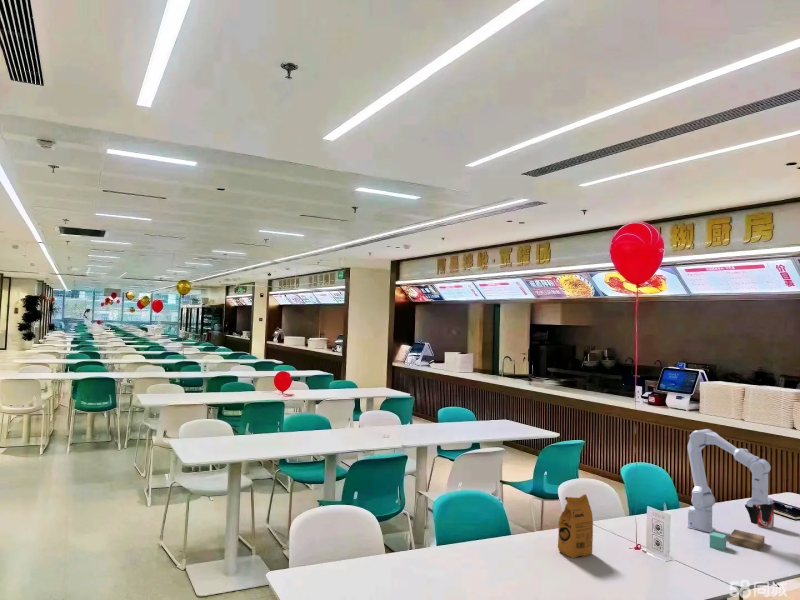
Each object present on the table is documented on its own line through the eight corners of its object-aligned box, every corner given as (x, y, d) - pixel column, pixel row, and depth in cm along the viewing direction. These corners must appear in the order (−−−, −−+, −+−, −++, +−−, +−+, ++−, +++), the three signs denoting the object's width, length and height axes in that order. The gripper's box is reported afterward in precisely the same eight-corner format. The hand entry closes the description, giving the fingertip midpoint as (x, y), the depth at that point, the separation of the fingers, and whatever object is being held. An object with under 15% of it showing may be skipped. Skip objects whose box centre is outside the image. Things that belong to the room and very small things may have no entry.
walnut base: (729, 543, 236) (729, 535, 236) (734, 536, 244) (734, 529, 244) (760, 550, 229) (760, 543, 229) (764, 543, 237) (764, 536, 237)
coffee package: (553, 550, 222) (554, 493, 223) (578, 545, 228) (578, 490, 229) (571, 559, 213) (572, 501, 214) (596, 555, 219) (597, 497, 220)
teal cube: (709, 547, 231) (709, 534, 231) (712, 544, 235) (712, 531, 235) (723, 550, 228) (723, 538, 228) (726, 547, 231) (726, 535, 232)
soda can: (777, 529, 255) (777, 502, 255) (761, 528, 255) (761, 502, 256) (767, 524, 262) (767, 498, 263) (752, 523, 262) (752, 497, 263)
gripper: (758, 493, 228) (758, 527, 227) (780, 490, 234) (780, 523, 234) (741, 488, 234) (741, 521, 234) (763, 485, 241) (763, 517, 240)
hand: (759, 522), depth 234 cm, fingers open, 7 cm apart
